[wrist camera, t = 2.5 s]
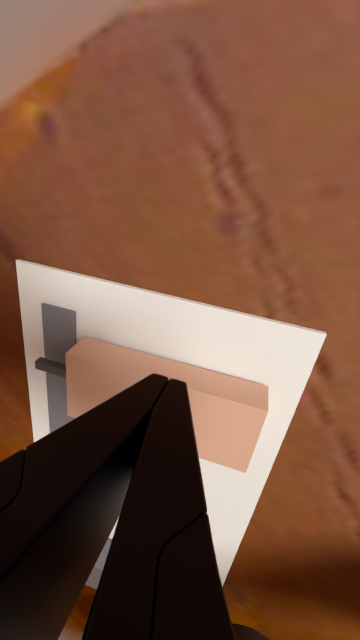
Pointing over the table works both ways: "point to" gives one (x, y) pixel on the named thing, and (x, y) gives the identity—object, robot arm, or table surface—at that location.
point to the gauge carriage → (203, 385)
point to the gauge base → (178, 345)
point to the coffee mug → (247, 633)
